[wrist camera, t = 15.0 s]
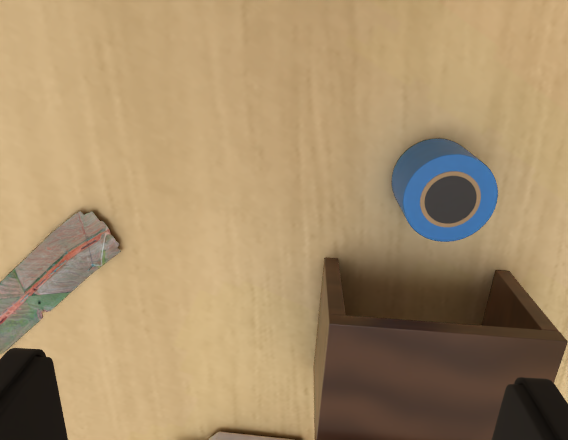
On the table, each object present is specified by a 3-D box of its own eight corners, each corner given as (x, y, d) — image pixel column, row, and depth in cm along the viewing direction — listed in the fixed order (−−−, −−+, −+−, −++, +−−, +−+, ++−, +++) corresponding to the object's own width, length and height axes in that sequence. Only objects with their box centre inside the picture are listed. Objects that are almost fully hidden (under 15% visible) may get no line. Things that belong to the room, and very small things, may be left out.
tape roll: (398, 135, 37) (411, 151, 32) (483, 141, 37) (508, 158, 32) (386, 214, 40) (396, 239, 35) (465, 219, 39) (487, 245, 35)
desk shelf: (324, 257, 41) (330, 337, 31) (509, 270, 41) (579, 355, 30) (313, 368, 46) (315, 471, 35) (480, 381, 46) (532, 489, 35)
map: (-44, 325, 47) (-51, 331, 46) (83, 202, 40) (78, 206, 39) (-3, 358, 48) (-9, 364, 47) (128, 243, 41) (123, 249, 40)
